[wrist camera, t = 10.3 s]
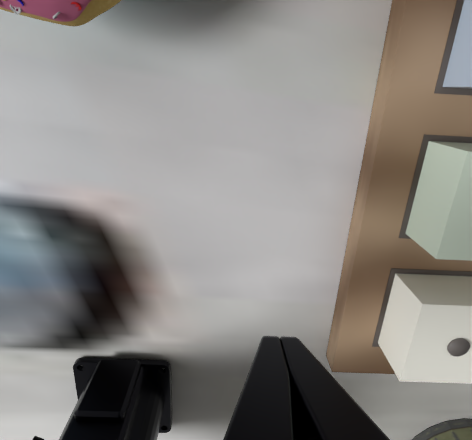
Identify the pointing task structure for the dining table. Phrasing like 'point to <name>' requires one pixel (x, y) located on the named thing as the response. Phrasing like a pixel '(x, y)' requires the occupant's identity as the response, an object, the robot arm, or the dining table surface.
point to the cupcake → (59, 9)
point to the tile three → (461, 52)
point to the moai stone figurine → (448, 431)
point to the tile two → (444, 202)
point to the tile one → (429, 328)
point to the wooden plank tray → (397, 177)
